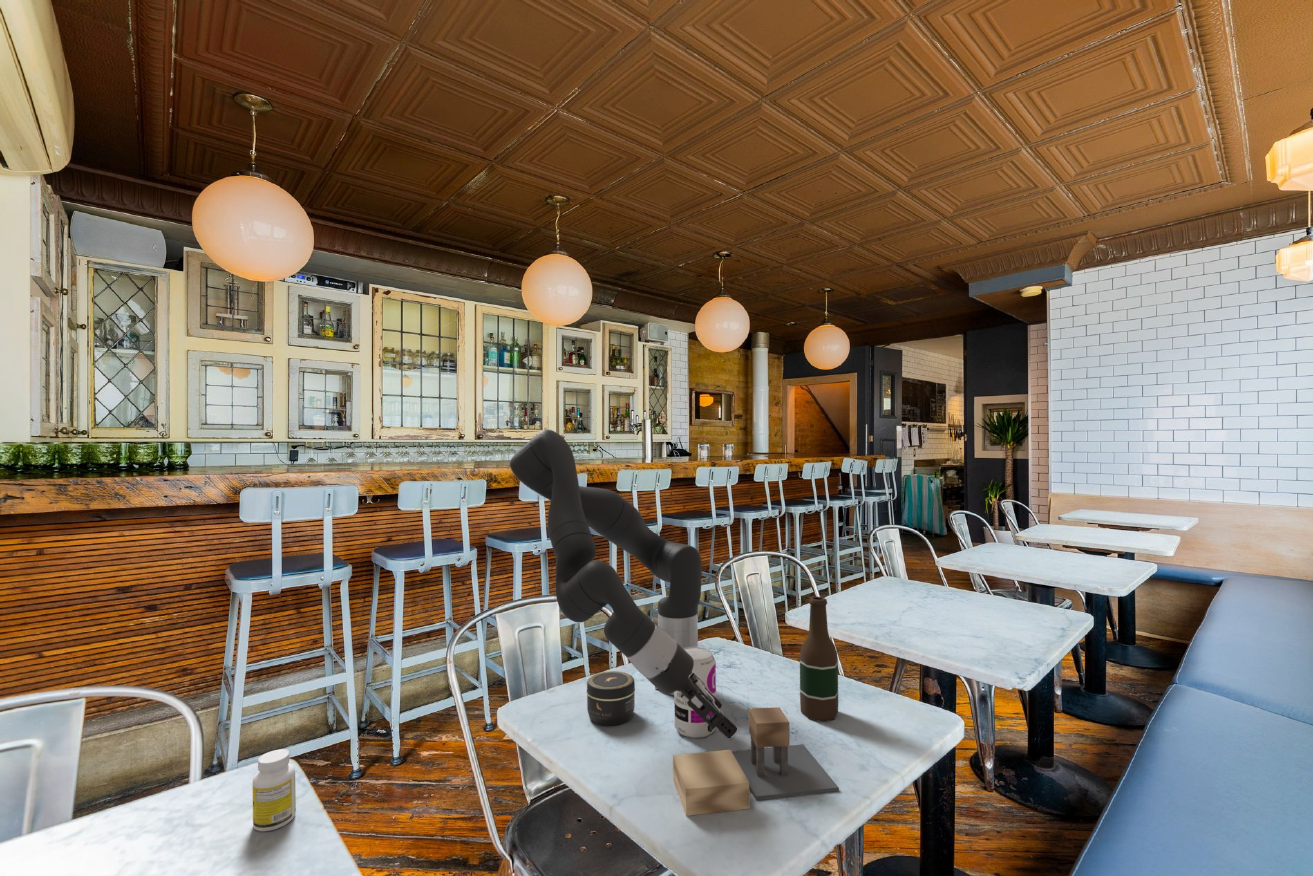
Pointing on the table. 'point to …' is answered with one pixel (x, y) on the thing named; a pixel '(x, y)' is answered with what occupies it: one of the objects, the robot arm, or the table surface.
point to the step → (710, 782)
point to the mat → (800, 778)
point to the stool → (769, 737)
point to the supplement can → (685, 715)
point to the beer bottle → (818, 667)
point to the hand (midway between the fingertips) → (725, 720)
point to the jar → (610, 698)
